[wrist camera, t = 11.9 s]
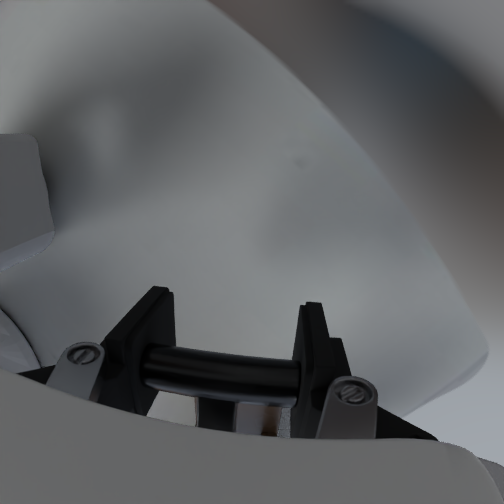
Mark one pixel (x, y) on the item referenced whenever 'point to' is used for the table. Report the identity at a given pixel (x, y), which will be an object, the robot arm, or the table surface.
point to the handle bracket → (255, 419)
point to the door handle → (220, 381)
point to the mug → (15, 348)
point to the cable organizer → (22, 201)
